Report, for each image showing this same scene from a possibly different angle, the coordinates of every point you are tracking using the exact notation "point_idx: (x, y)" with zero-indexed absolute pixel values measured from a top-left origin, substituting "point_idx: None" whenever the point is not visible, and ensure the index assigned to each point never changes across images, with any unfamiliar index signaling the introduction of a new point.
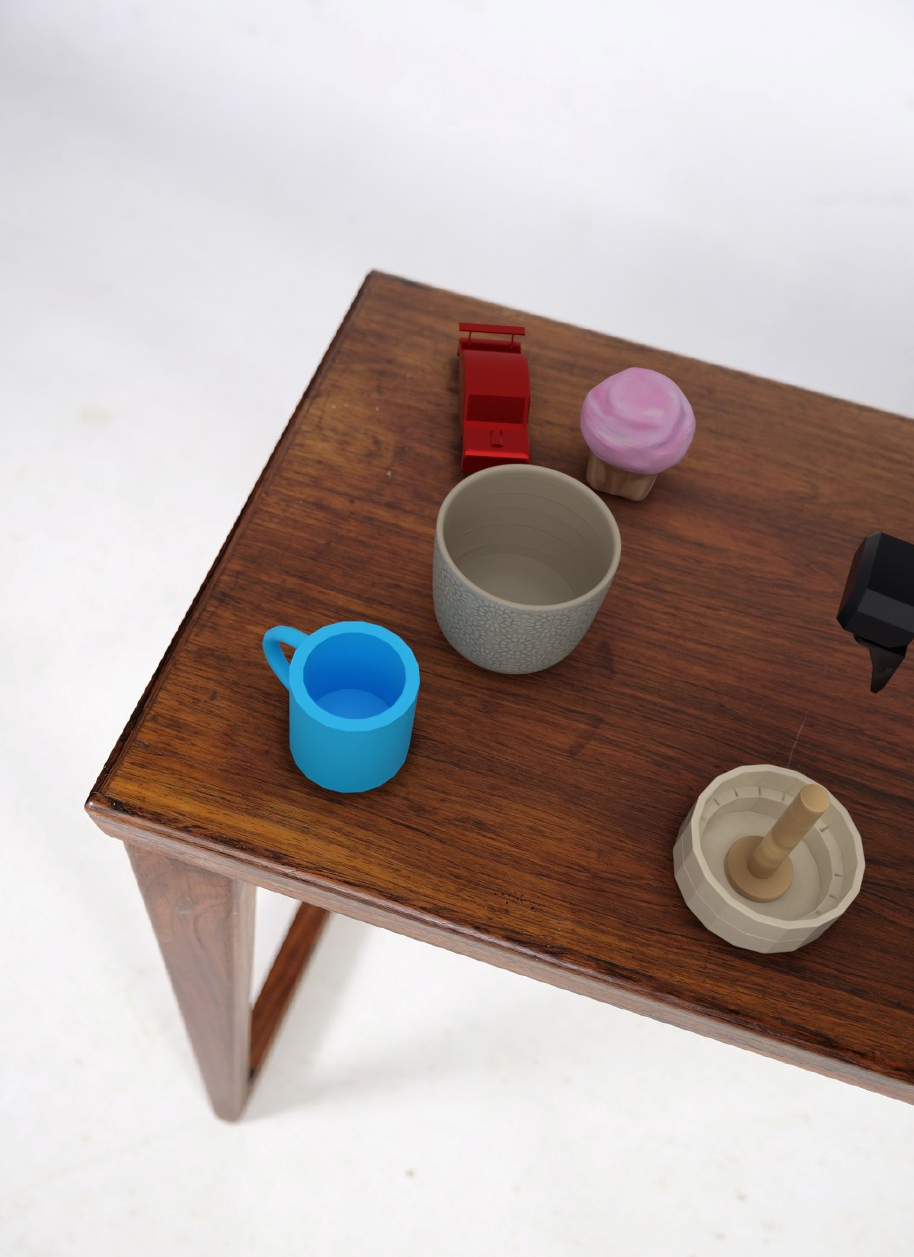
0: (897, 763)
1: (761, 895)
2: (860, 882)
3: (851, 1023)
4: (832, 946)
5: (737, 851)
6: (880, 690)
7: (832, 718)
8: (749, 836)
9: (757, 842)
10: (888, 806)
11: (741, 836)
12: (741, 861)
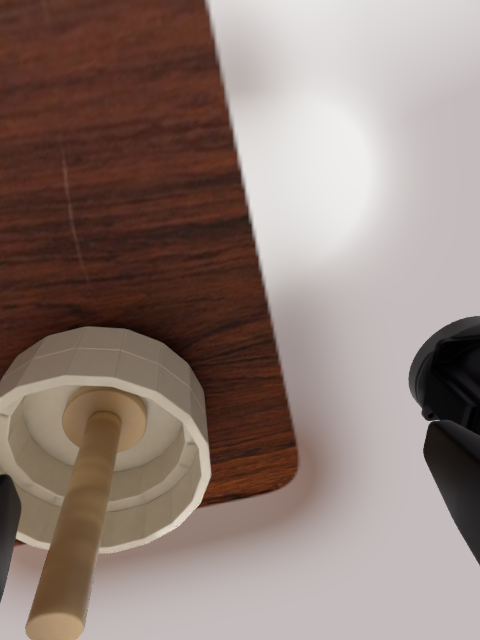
0: (228, 159)
1: (121, 449)
2: (208, 466)
3: (252, 476)
4: (216, 429)
5: (71, 422)
6: (12, 551)
7: (104, 125)
8: (74, 400)
9: (87, 402)
10: (232, 240)
11: (70, 389)
12: (82, 430)
